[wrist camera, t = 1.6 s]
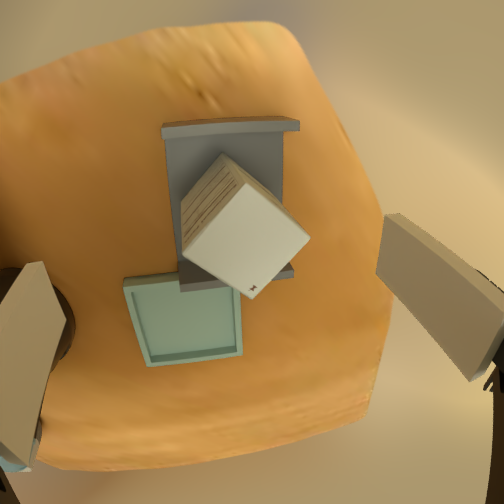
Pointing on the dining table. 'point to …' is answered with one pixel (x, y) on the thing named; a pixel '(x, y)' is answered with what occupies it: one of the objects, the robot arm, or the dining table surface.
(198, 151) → the bay
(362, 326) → the dining table surface
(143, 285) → the tray
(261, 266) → the supplement box
